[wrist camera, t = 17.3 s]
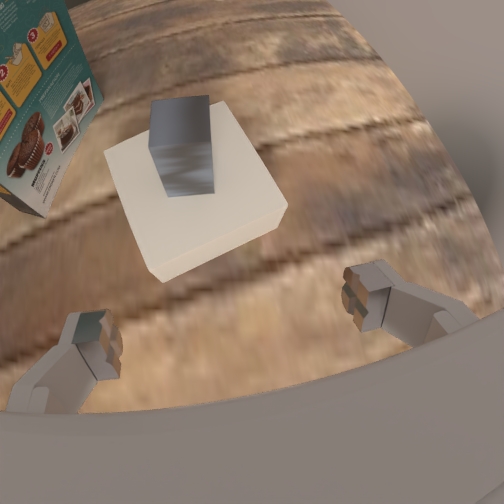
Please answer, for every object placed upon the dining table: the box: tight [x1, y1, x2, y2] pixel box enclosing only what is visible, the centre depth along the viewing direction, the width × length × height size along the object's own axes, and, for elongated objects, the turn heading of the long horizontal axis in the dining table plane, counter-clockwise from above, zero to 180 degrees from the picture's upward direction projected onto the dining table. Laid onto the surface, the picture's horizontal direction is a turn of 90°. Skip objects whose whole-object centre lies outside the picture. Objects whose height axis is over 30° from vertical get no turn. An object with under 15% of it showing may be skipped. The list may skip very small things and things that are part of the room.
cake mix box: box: [0, 0, 104, 218], centre depth 27 cm, size 22×6×30 cm, turn 166°
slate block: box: [148, 95, 215, 198], centre depth 29 cm, size 5×5×10 cm
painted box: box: [104, 101, 288, 283], centre depth 38 cm, size 16×16×8 cm
